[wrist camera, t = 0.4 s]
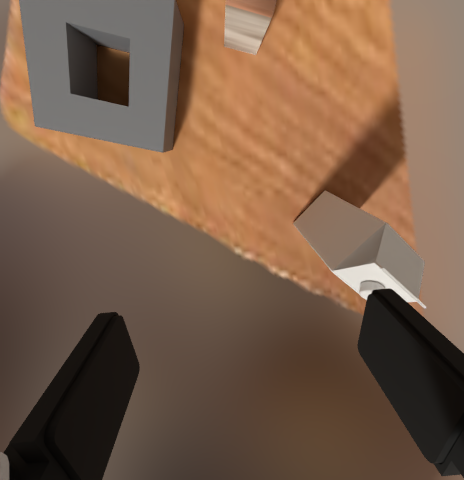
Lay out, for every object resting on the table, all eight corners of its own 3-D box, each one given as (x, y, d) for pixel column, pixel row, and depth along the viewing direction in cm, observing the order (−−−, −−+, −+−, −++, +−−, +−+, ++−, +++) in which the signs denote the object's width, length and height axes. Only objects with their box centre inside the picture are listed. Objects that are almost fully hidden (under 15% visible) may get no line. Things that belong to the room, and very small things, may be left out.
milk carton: (324, 189, 36) (418, 238, 19) (352, 216, 38) (460, 283, 21) (291, 222, 38) (350, 295, 21) (320, 247, 40) (394, 330, 23)
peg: (230, 4, 27) (236, -75, 17) (263, 13, 27) (288, -57, 17) (224, 46, 28) (225, -2, 18) (255, 55, 29) (274, 12, 19)
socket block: (57, -10, 26) (13, -49, 20) (184, 24, 27) (174, -3, 22) (67, 127, 31) (35, 126, 26) (172, 149, 33) (162, 152, 27)
